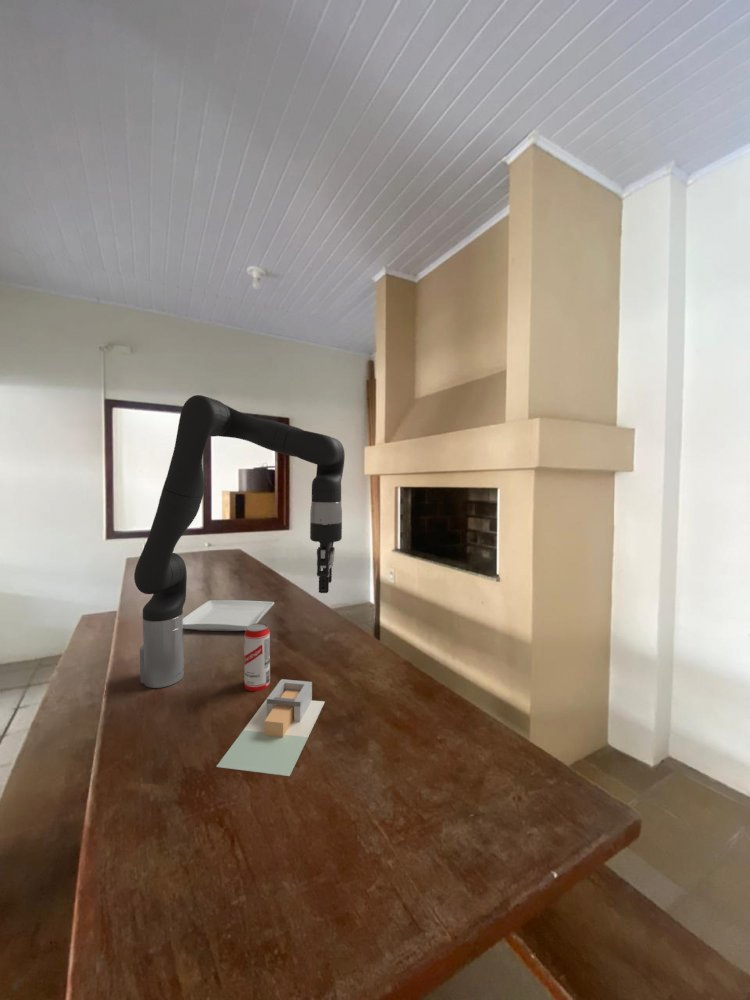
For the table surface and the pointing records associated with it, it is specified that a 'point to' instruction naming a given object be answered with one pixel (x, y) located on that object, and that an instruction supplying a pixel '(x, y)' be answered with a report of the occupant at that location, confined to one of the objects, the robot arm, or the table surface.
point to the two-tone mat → (275, 751)
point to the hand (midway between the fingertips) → (325, 587)
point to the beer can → (257, 657)
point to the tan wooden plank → (280, 717)
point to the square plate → (226, 615)
